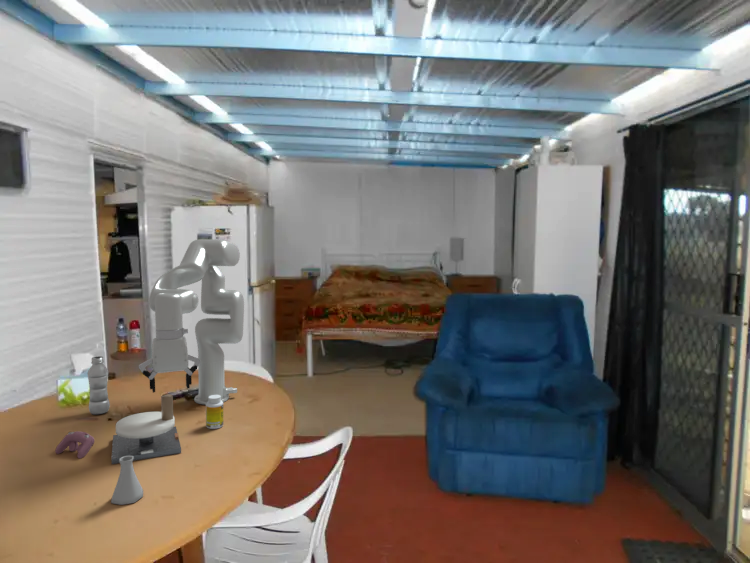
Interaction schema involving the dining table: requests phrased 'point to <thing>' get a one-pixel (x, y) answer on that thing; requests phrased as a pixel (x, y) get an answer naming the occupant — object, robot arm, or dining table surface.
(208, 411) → the supplement bottle
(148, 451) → the mount
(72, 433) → the video game controller
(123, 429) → the white piece
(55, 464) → the dining table surface
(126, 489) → the flask
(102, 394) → the plastic bottle
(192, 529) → the dining table surface
